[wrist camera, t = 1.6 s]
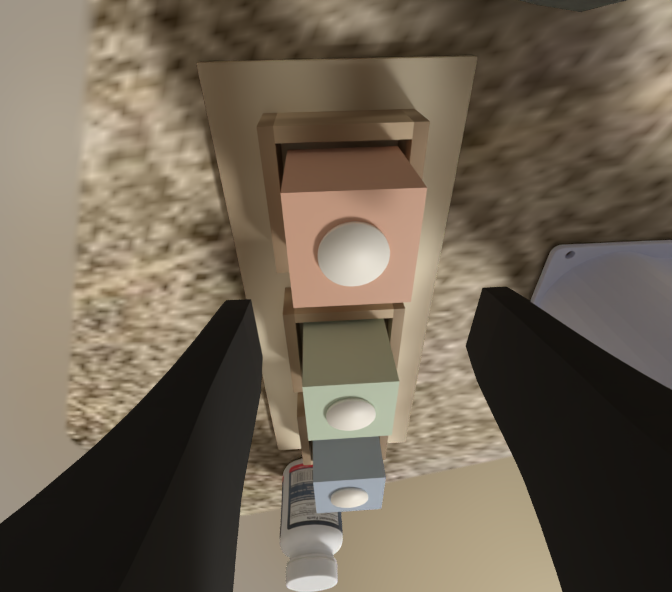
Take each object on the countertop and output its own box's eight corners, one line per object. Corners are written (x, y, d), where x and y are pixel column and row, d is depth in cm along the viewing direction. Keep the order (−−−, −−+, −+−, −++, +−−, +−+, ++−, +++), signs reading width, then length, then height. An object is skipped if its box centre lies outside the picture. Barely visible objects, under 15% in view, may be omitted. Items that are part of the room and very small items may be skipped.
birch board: (472, 55, 15) (504, 62, 12) (403, 435, 32) (411, 469, 29) (199, 61, 14) (178, 70, 12) (278, 443, 31) (276, 478, 29)
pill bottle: (321, 486, 37) (324, 597, 30) (274, 476, 35) (265, 592, 28) (348, 462, 34) (358, 577, 27) (299, 450, 32) (296, 570, 25)
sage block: (383, 316, 20) (400, 384, 16) (378, 369, 23) (392, 438, 19) (303, 320, 20) (302, 390, 16) (308, 373, 22) (308, 444, 19)
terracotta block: (397, 146, 14) (429, 190, 11) (389, 243, 17) (412, 305, 13) (287, 149, 14) (280, 195, 10) (296, 247, 17) (293, 311, 13)
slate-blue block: (374, 413, 25) (386, 480, 22) (372, 446, 28) (381, 511, 24) (312, 416, 25) (313, 485, 21) (315, 450, 28) (316, 516, 24)
